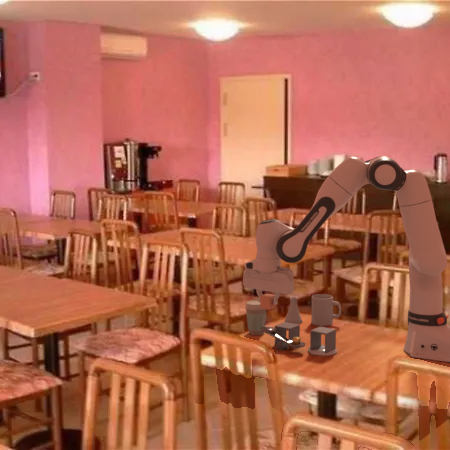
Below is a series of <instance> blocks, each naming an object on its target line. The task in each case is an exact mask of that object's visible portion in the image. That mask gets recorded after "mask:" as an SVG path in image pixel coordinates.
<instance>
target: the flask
mask: <svg viewBox="0 0 450 450" xmlns="http://www.w3.org/2000/svg"><path fill="white" fill-rule="evenodd" d="M289 301H290V302H289V308H288V311H287V313H286V315H285V319H284V322H288V323H293V324H298V325H300V324H301V323H303V320H302V316H301V314H300V310H299V307H298V296H297V297H295V296H291V297H289Z"/></svg>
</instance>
